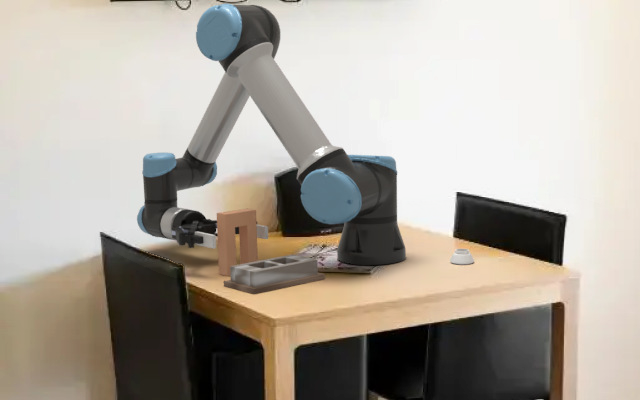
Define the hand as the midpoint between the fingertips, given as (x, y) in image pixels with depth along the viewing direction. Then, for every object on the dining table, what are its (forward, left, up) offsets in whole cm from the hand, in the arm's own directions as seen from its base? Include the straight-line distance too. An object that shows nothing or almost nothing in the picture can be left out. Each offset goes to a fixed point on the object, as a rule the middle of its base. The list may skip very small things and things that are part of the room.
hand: (241, 237), depth 223 cm
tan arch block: (+1, -1, -8) cm, 8 cm away
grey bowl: (-47, +3, -8) cm, 48 cm away
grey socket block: (-5, +11, -8) cm, 14 cm away
